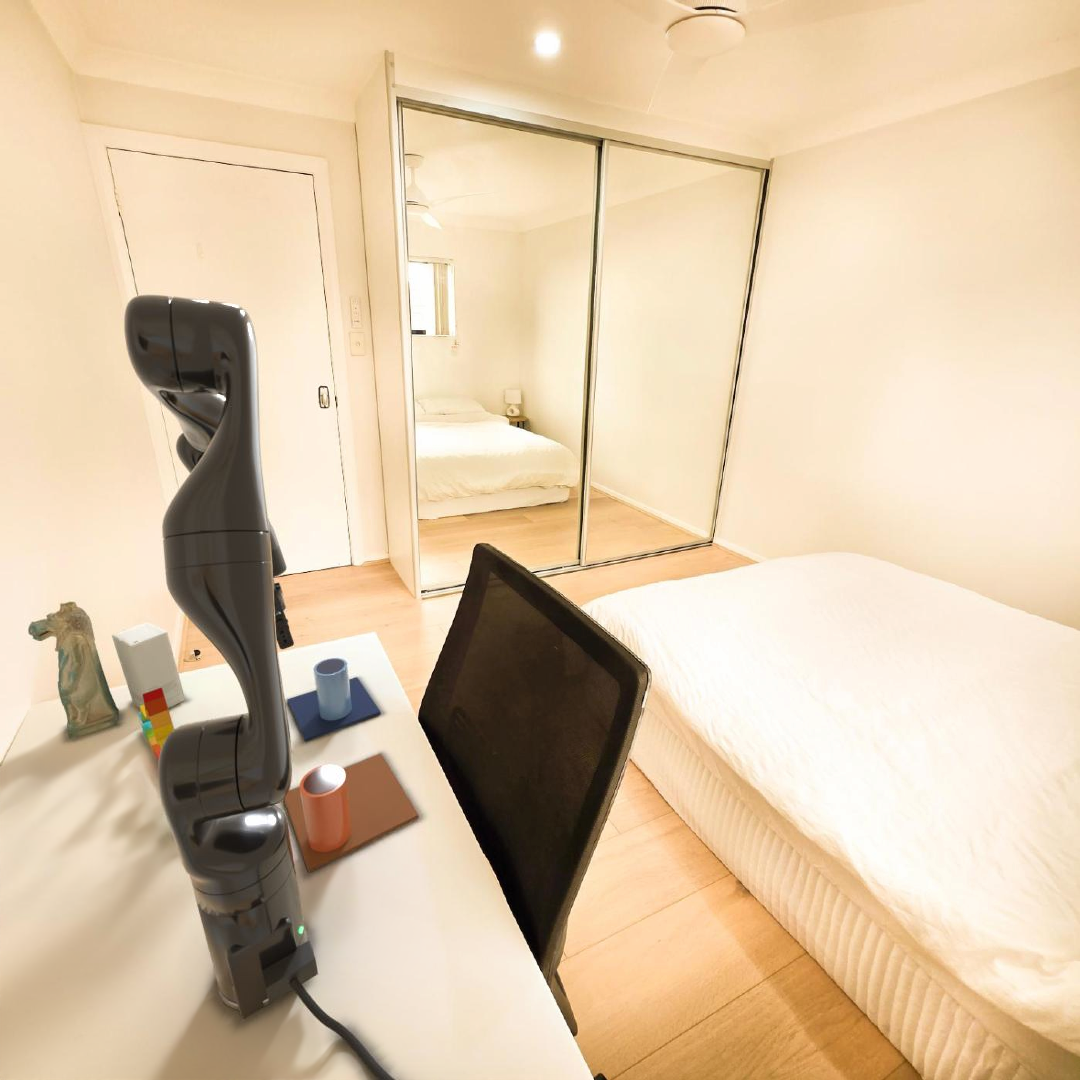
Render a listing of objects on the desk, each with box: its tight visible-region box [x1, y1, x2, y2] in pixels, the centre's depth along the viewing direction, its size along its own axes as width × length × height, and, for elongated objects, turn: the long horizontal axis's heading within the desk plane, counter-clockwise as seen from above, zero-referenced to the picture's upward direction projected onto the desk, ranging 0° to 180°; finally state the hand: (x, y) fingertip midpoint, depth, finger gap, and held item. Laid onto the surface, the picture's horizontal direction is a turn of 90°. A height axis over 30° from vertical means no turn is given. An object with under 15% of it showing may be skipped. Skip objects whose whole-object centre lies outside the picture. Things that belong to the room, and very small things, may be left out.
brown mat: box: [283, 752, 420, 873], centre depth 82 cm, size 16×16×1 cm
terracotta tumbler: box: [299, 764, 352, 852], centre depth 75 cm, size 6×6×10 cm
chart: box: [138, 687, 175, 762], centre depth 85 cm, size 30×3×15 cm, turn 46°
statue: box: [27, 601, 120, 740], centre depth 94 cm, size 7×8×25 cm
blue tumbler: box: [313, 657, 352, 720], centre depth 102 cm, size 6×6×10 cm
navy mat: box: [286, 676, 382, 742], centre depth 105 cm, size 14×14×1 cm
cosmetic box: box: [111, 621, 186, 709], centre depth 102 cm, size 8×7×16 cm
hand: (285, 639), depth 90 cm, fingers open, 8 cm apart
